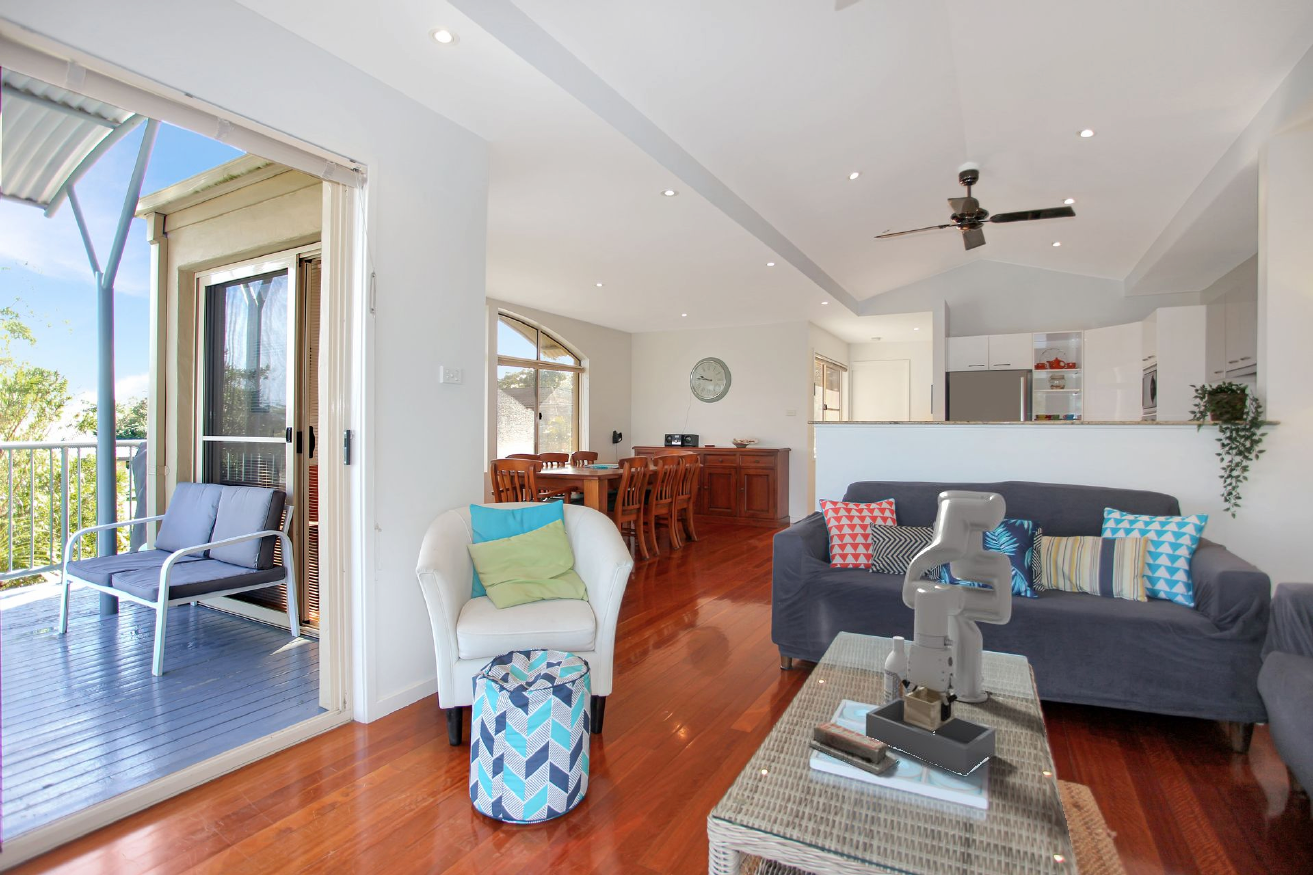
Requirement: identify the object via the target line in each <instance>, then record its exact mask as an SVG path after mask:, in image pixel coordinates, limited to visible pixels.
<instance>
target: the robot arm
mask: <svg viewBox="0 0 1313 875" xmlns="http://www.w3.org/2000/svg"><path fill="white" fill-rule="evenodd" d="M937 505H938V509H937V514H936V518H935V524H934V528H933V533H932V537H931V542H930V545H928V546H927V547H926V548H924V549H923V550H921V551H920V552H919V553H918V554H917V555H915V556H914V557H913V559H912V560H911V561H910V562H909V564H908V566H907V569H906V571H905V572H906V573H905V575H904V576H905V578H904V582H903V586H902V587H903V588H902V594H901V595H902V602H903V603H904V604H905V606H907V607H908V608H910V609H912V610H914V619H913V620H914V622H913V623H914V624H913V625H914V627H913V628H914V629H913V641H912V642H911V643H910V647H909V651H908V655H907V657H908V664H907V667H905V668H904V669H902V670H900V671H899V672H897V674H898V676H899V678H900V679H901V680H902V683H903V685H904V686H905V688H906V689H907V692H908V693H911V692H913V691H915V690H917V689H919V687H920V688H921V687H924V688H927V689H930V690H934V691H937V692H939V693H940V696H941V698H942V700H943V704H941V721H943V722H944V721H946V720H948V719H949V718H950V717H951V703H952V702H954V703H955V701H960V702H965V703H983V702H985V701H987V700H988V693H987V692H986V691H985V690H984V689H982V688H983V687H982V686H983V685H982V683H984V682H985V677H984V676H983V634H982V632H981V629H980V628H979V627H978V625H977V623H976V622H983V623H988V624H995V625H1006V624H1007V623H1008V624H1009V622H1010V620H1011V617H1012V605H1013V604H1012V590H1013V586H1012V584H1013V577H1012V575H1013V573H1012V570H1013V569H1012V562H1011V560H1010V557H1009V556H1008V555H1007V553H1004V552H1002V551H996V550H995V551H993V550H986V549H984V548H983V532H985V533H988V532H989V533H992V532H994V531H995V530H996V529H997V528H998V527H999V526H1000V524H1001V523H1002V522H1003V520H1004V518H1005V515H1006V512H1007V507H1006V506H1007V505H1006V501H1005V499H1004V497H1003V495H1001V494H1000V493H996V492H990V491H989V492H988V491H971V490H944V491H942V492H941V493H939V495H938V496H937ZM948 563H949V569H950V575H951V576H952V577H953V578H954V579H956V580H958V581H963V582H968V583H974V584H983V585H989V586H991V587H992V588H985V587H979V586H972V585H964V584H951V583H945V582H938V581H932V580H924V579H920V578H921V577H922V575H923V574H925V573H926V572H927V571H928V570H929V569H932V568H935V567H937V566H941V565H944V564H948ZM906 674H907V676H906ZM951 693H954V694H953V695H951Z"/></svg>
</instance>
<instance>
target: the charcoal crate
mask: <svg viewBox="0 0 1313 875" xmlns="http://www.w3.org/2000/svg"><path fill="white" fill-rule="evenodd" d="M865 718H866V719H865V736H868V737H870V738H874V739H877V740H879V741H881V742H883V743H885V744H887V745H890V746H892V747H896V748H897V749H901V750H903V751H905V752H907V753H910V754H912V755H915V756H917V757H919V758H921V759H923V760H926V761H928V762H931V763H933V764H937V765H938V766H942V767H943V768H946V769H949V770H951V771H954V772H956V773H961V774H962V775H967V773H969V772H970V771H971V770H972V769H973V768H974V767H975V766H977V765H978V764H980V762H982V761H983V760H984V759H985V758H987V757H989V758H990V759H992V758H993V757H994V756H996V728H993V727H989V726H986V725H983V724H980V723H978V722H975V721H971V720H968V719H966V718H962V717H959V716H956V715H954V719H953V720H951V721H949V722H948V723H946V724H944V725H942V726H941V727H939V728H937V729H935V730H934V731H935V733H933V732H934V731H931V730H928V729H926V728H923V727H920V726H917V725H914V724H911V723H909V722H906V721H904V699H902V698H897V699H895V700H893V701H891V702H888V703H886V704H884V703H883V705H881V706H878V707H876V708H875V709H873V710H870V711H868V712H866V713H865ZM933 734H935V735H933ZM923 760H922V761H923ZM928 762H927V763H928ZM933 764H932V765H933ZM938 766H937V767H938ZM943 768H942V769H943ZM946 769H945V770H946ZM951 771H950V772H951ZM956 773H955V774H956Z"/></svg>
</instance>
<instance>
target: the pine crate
mask: <svg viewBox="0 0 1313 875" xmlns="http://www.w3.org/2000/svg"><path fill="white" fill-rule="evenodd" d="M953 694H954V693H951V695H953ZM941 704H943V700H942V698H941V696H940V693H939V692H937V691H934V690H930V689H927V688H924V687H921V686H920V687H918V688H917V690H915V691H913V692H911V693H909V694H907V695H904V721H906V722H909V723H911V724H914V725H917V726H920V727H923V728H926V729H928V730H931V731H934V730H935V729H937V728H939V727H941V726H942V725H944V724H946V723H948V722H949V721H951V720H953V719H954V716H955V701H954V702H952V703H951V717H950V718H949V719H948V720H946V721H944V722H943V721H941Z"/></svg>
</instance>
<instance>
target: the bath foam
mask: <svg viewBox="0 0 1313 875" xmlns="http://www.w3.org/2000/svg"><path fill="white" fill-rule="evenodd" d="M907 664H908V655H907V654H906V652H905V638H904V637H903V636H898V635H896V636H893V637H892V651H891V652H890V653H889V654H888V656H887V658H886V659H885V663H884V671H883V673H884V674H883V676H884V678H883V705H884V704H886V703H888V702H891V701H893V700H895V699H897V698H902V699H904V695H907V694H909V693H908V692H907V689H906V688H905V686H904V685H903V683H902V680H901V679H900V678H899V676H898V674H897V672H899V671H900V670H902V669H904V668H905V667H907ZM906 676H907V674H906Z"/></svg>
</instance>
